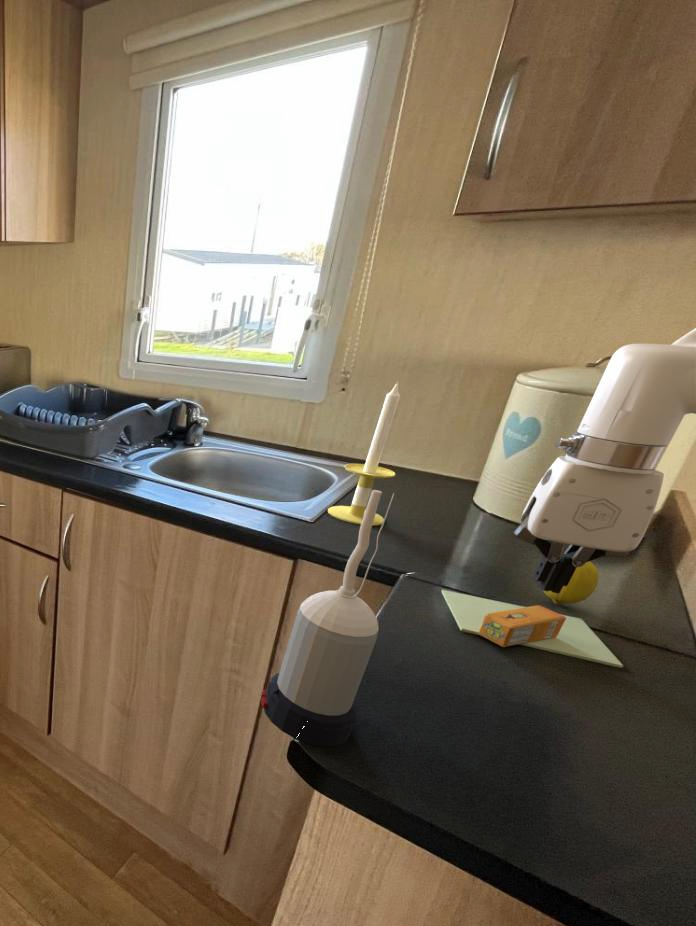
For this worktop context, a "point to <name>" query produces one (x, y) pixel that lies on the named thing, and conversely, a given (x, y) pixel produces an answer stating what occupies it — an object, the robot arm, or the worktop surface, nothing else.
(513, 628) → the supplement box
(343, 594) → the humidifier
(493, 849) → the worktop surface
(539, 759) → the worktop surface
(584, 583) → the lemon
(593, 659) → the mat
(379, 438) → the candle
